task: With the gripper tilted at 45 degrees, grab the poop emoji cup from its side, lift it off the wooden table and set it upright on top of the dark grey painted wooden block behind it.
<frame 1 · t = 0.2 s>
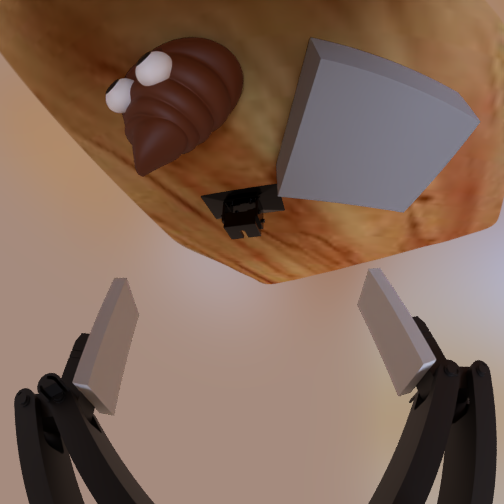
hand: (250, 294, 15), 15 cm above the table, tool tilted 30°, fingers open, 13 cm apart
black mounting bracket: (243, 197, 33), on the table
poop emoji: (181, 80, 18), on the table
grey block: (366, 125, 21), on the table
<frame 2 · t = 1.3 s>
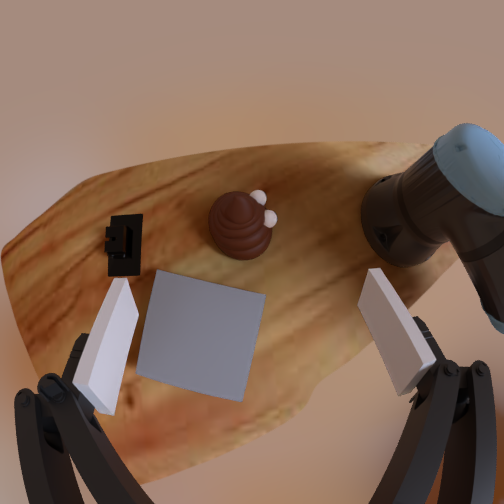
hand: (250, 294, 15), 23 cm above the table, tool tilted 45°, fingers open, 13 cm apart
black mounting bracket: (126, 246, 39), on the table
poop emoji: (241, 227, 40), on the table
grey block: (201, 334, 36), on the table
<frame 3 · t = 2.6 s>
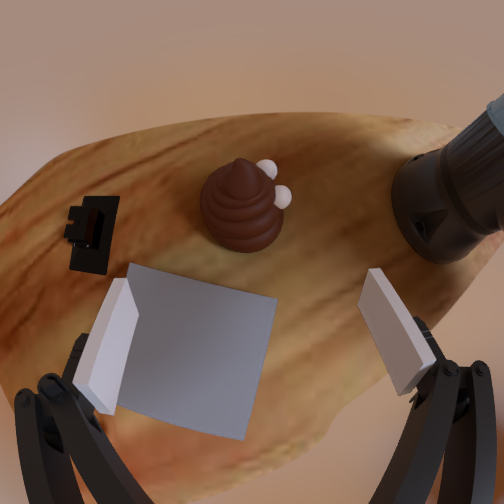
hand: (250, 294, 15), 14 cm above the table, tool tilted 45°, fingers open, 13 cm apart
black mounting bracket: (95, 234, 29), on the table
poop emoji: (242, 210, 30), on the table
grey block: (190, 350, 27), on the table
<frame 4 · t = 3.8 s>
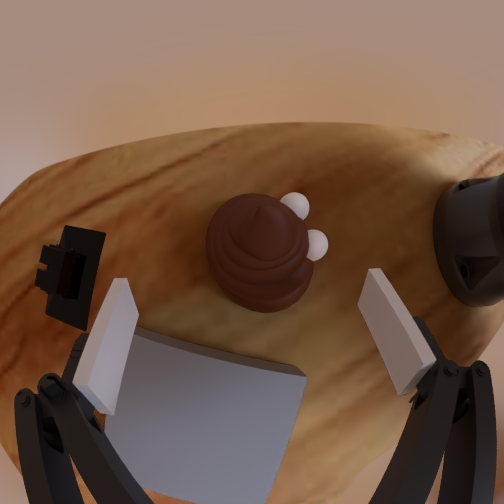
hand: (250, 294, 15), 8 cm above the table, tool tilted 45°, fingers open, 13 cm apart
black mounting bracket: (76, 275, 23), on the table
poop emoji: (260, 254, 24), on the table
grey block: (198, 421, 20), on the table
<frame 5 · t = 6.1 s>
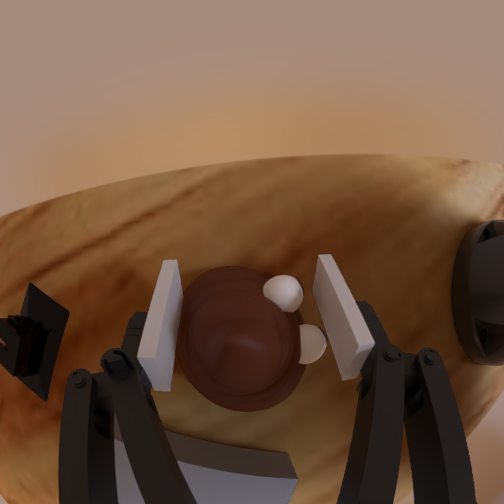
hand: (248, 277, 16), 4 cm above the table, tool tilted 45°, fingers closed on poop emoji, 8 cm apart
black mounting bracket: (39, 344, 18), on the table
poop emoji: (242, 337, 19), on the table, touching gripper
grey block: (184, 498, 15), on the table
when the fingers open (9 cm above the table, at t = 10.2 s): poop emoji drops 1 cm, resting on grey block.
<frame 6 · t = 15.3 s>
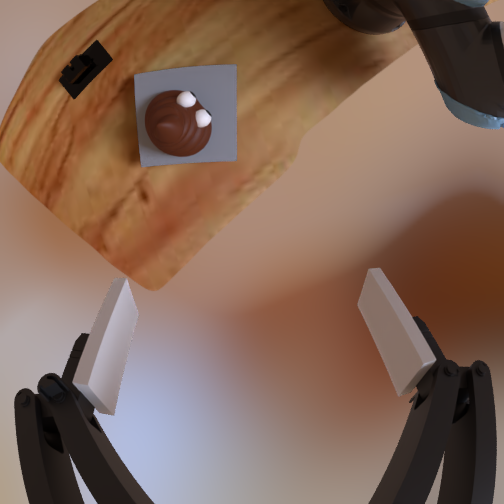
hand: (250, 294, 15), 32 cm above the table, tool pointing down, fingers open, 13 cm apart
black mounting bracket: (86, 69, 31), on the table
poop emoji: (180, 121, 34), point 4 cm above the table, touching grey block
grey block: (189, 113, 37), on the table
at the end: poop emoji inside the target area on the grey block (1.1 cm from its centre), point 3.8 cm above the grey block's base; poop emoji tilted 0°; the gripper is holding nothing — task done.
